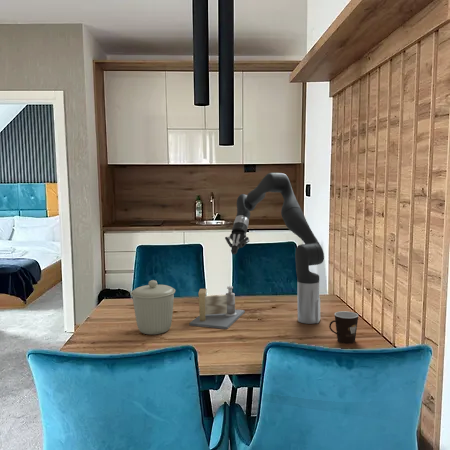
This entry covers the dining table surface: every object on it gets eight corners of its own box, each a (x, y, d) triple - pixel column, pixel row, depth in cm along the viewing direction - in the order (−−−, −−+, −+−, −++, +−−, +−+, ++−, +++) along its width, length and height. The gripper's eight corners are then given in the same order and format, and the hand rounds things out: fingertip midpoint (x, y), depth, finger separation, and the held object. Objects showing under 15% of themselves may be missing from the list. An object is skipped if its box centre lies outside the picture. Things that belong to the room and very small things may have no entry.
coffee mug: (353, 336, 173) (354, 310, 172) (361, 344, 164) (361, 317, 163) (323, 337, 173) (323, 311, 172) (329, 345, 164) (329, 318, 163)
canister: (173, 338, 175) (171, 285, 173) (127, 338, 176) (125, 286, 174) (179, 323, 193) (177, 275, 191) (137, 323, 194) (135, 275, 192)
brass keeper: (206, 323, 192) (205, 293, 191) (199, 323, 193) (198, 293, 191) (207, 317, 201) (206, 288, 199) (200, 317, 201) (199, 288, 199)
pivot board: (244, 312, 207) (244, 283, 205) (227, 329, 184) (226, 296, 183) (210, 309, 213) (209, 281, 211) (189, 325, 190) (188, 293, 189)
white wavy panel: (234, 311, 203) (233, 292, 202) (235, 313, 199) (235, 294, 198) (201, 313, 201) (200, 294, 200) (202, 316, 197) (201, 296, 196)
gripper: (226, 221, 231) (218, 248, 221) (251, 221, 227) (244, 249, 216) (230, 230, 236) (222, 257, 226) (254, 230, 232) (248, 258, 222)
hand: (233, 253), depth 221 cm, fingers closed
